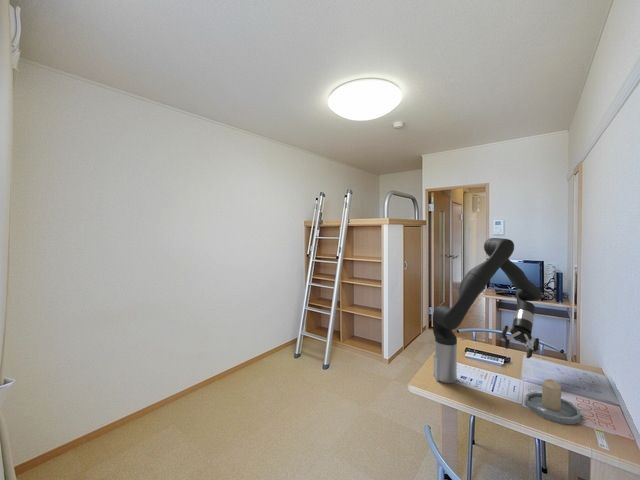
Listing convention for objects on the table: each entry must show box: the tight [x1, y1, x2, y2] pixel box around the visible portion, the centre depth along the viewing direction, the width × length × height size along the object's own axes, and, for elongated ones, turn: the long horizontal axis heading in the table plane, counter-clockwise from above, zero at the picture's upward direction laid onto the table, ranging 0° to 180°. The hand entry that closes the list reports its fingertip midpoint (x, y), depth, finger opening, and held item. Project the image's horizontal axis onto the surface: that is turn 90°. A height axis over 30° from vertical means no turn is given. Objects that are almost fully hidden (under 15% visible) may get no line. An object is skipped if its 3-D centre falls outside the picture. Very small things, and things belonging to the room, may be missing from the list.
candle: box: [541, 378, 562, 411], centre depth 108 cm, size 6×6×10 cm
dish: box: [524, 391, 582, 425], centre depth 108 cm, size 16×16×2 cm
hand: (517, 352), depth 127 cm, fingers open, 8 cm apart
